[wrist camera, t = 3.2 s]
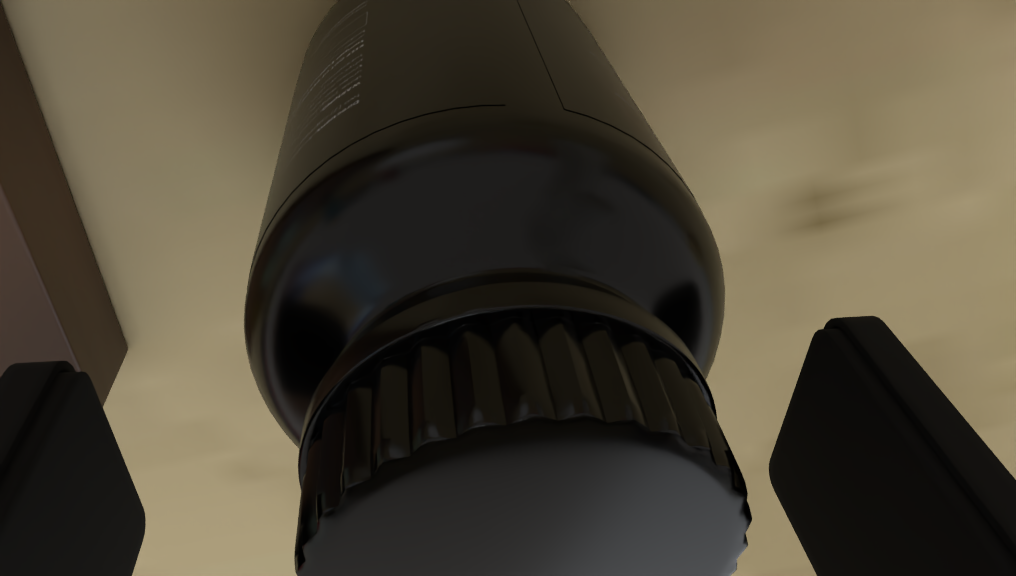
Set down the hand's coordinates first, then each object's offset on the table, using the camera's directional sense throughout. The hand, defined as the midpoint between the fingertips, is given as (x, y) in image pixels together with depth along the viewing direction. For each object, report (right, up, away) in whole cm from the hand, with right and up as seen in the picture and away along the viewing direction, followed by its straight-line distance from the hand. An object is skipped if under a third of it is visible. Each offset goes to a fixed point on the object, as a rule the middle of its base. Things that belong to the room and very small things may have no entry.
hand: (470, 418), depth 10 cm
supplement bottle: (-1, +6, +7) cm, 10 cm away
